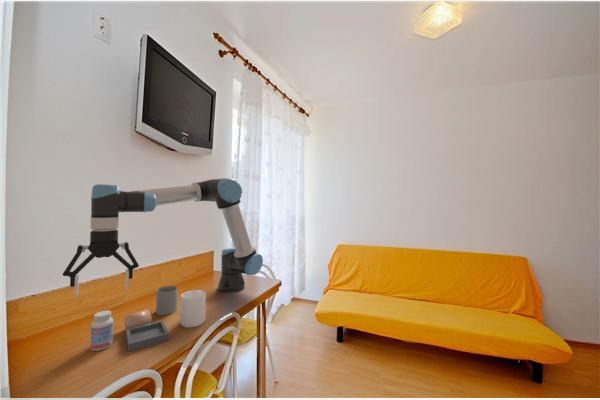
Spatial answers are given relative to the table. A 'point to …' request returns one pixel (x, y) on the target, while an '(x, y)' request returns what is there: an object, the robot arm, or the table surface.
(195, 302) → the mug
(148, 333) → the tray
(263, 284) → the table surface
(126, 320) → the beige block
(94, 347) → the pill bottle
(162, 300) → the cup
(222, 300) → the table surface
